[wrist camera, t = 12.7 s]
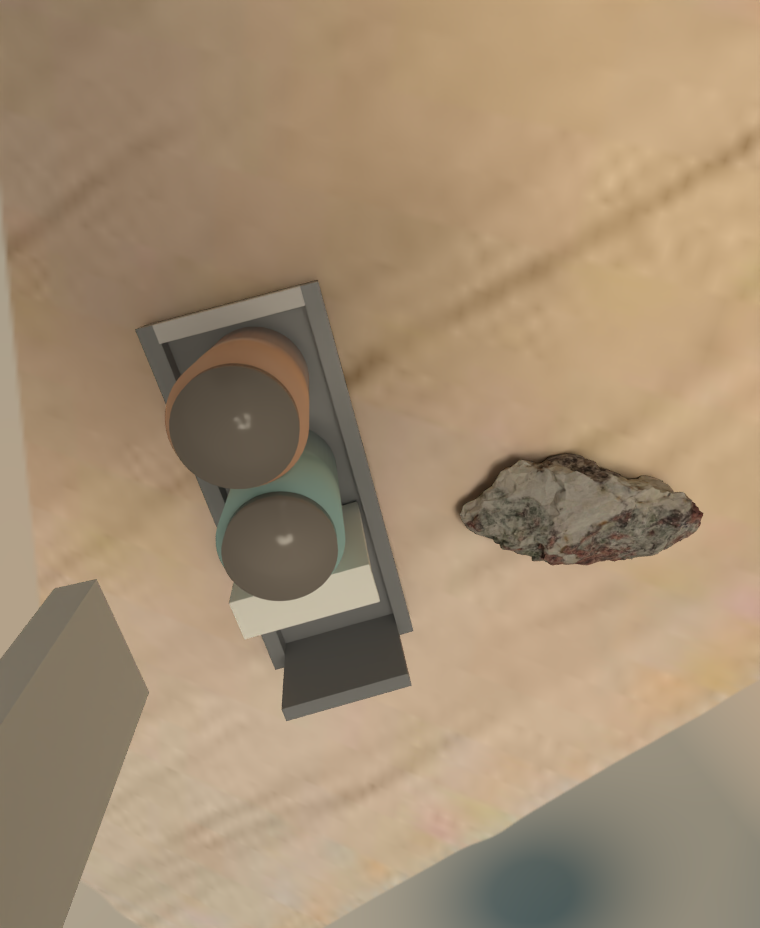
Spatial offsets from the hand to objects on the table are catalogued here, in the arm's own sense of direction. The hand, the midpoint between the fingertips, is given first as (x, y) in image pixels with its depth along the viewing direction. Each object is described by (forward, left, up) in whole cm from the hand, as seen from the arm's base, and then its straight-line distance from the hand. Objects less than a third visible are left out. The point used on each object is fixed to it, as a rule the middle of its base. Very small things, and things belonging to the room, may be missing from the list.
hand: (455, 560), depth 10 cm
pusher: (+10, -6, -23) cm, 25 cm away
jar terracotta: (0, -6, -23) cm, 24 cm away
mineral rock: (+14, +11, -24) cm, 30 cm away
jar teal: (+6, -6, -23) cm, 24 cm away
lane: (+7, -6, -23) cm, 25 cm away
